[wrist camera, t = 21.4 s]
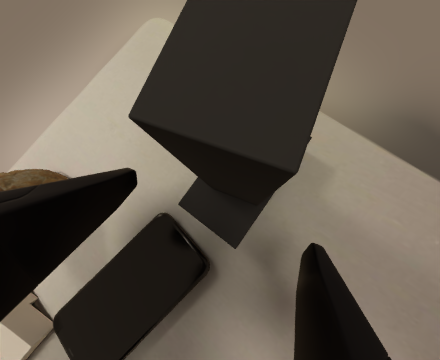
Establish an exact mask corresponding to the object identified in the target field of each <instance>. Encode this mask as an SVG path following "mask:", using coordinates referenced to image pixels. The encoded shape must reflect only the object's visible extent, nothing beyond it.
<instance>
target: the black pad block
mask: <svg viewBox="0 0 440 360" xmlns="http://www.w3.org/2000/svg"><path fill="white" fill-rule="evenodd" d="M356 2H357V0H187V2H186V4H185V6H184V8H183V10H182V12H181V13H180V15H179V17H178V19H177V21H176V23H175V25H174V27H173V29H172V31H171V33H170V35H169V37H168V39H167V41H166V43H165V45H164V47H163V49H162V51H161V53H160V55H159V56H158V58H157V60H156V62H155V64H154V66H153V68H152V70H151V72H150V74H149V76H148V78H147V80H146V82H145V84H144V86H143V88H142V90H141V92H140V94H139V96H138V98H137V100H136V101H135V103H134V105H133V107H132V109H131V111H130V113H129V118H130V119H131V120H132V121H133V122H135V123H136V124H137V125H138V126H139V127H140V128H142V129H143V130H144V131H145V132H146V133H147V134H149V135H150V136H151V137H152V138H153V139H155V140H156V141H157V142H158V143H159V144H160V145H162V146H163V147H164V148H165V149H166V150H167V151H169V152H170V153H171V154H172V155H173V156H174V157H176V158H177V159H178V160H179V161H180V162H182V163H183V164H184V165H185V166H186V167H187V168H189V169H190V170H191V171H192V172H193V173H194V174H196V175H197V176H198V177H199V178H200V179H201V180H203V181H204V182H205V183H206V184H207V185H209V186H210V187H211V188H213V189H215V190H218V191H221V192H223V193H226V194H228V195H231V196H233V197H236V198H238V199H241V200H244V201H246V202H249V203H251V204H254V205H256V206H258V205H259V204H260V203H262V202H263V201H264V200H265V199H266V198H268V197H269V196H270V195H271V194H272V193H274V192H275V191H276V190H277V189H278V188H280V187H281V186H282V185H283V184H284V183H286V182H287V181H288V180H289V179H290V178H292V177H293V176H294V175H295V174H296V173H297V172H298V170H299V167H300V164H301V161H302V159H303V156H304V153H305V150H306V147H307V144H308V141H309V138H310V135H311V133H312V130H313V127H314V124H315V121H316V118H317V115H318V112H319V109H320V106H321V103H322V101H323V98H324V95H325V92H326V89H327V86H328V83H329V80H330V78H331V74H332V72H333V69H334V66H335V63H336V60H337V57H338V54H339V51H340V48H341V45H342V43H343V40H344V37H345V34H346V31H347V28H348V25H349V22H350V19H351V16H352V13H353V11H354V8H355V5H356Z"/></svg>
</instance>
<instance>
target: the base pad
mask: <svg viewBox="0 0 440 360" xmlns="http://www.w3.org/2000/svg"><path fill="white" fill-rule="evenodd" d="M311 138H312V137H310V138H309V141H310V140H311ZM309 141H308V143H309ZM273 194H274V193H272V194H271V195H270V196H269V197H268V198H266V199H265V200H264V201H263V202H262V203H260V204H259V205H258V206H256V205H254V204H251V203H249V202H246V201H244V200H241V199H238V198H236V197H233V196H231V195H228V194H226V193H223V192H221V191H218V190H215V189H213V188H211V187H210V186H209V185H207V184H206V183H205V182H204V181H203V180H201V179H200V178H199V177H198V178H197V179H196V181H195V182H194V183H193V185H192V186H191V187H190V189H189V190H188V191H187V193H186V194H185V195H184V197H183V198H182V200H181V201H180V202H179V205H180V206H181V207H182V208H183V209H185V210H186V211H187V212H189V213H190V214H191V215H192V216H194V217H195V218H196V219H198V220H199V221H200V222H201V223H203V224H204V225H205V226H206V227H208V228H209V229H210V230H212V231H213V232H214V233H215V234H217V235H218V236H219V237H220V238H222V239H223V240H224V241H226V242H227V243H228V244H229V245H231V246H232V247H233V248H234V249H236V248H237V246H238V245H239V243H240V242H241V240H242V239H243V238H244V236H245V235H246V233H247V232H248V230H249V229H250V227H251V226H252V224H253V223H254V221H255V220H256V219H257V217H258V216H259V214H260V213H261V211H262V210H263V208H264V207H265V205H266V204H267V203H268V201H269V200H270V198H271V197H272V195H273Z"/></svg>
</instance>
